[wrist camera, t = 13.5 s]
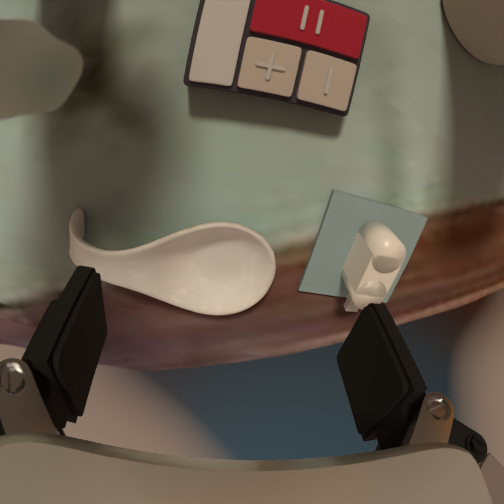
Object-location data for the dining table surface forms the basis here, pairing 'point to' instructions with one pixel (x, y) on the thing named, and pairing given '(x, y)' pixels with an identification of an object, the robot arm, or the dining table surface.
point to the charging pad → (342, 237)
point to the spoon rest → (187, 266)
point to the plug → (371, 265)
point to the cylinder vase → (478, 27)
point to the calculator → (279, 50)
